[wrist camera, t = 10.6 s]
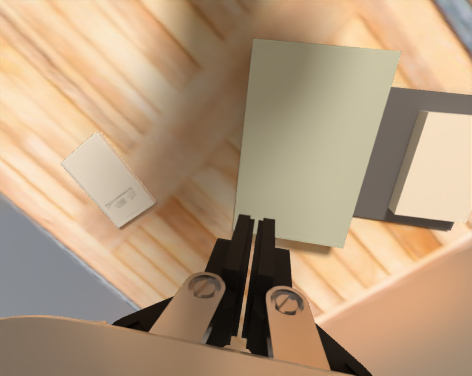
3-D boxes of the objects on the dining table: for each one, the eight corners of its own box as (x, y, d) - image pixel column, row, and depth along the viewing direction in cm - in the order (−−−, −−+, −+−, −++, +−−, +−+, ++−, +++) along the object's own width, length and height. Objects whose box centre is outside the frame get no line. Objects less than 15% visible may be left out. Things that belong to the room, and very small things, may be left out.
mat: (381, 86, 29) (383, 86, 29) (508, 99, 28) (511, 99, 28) (345, 213, 35) (346, 214, 35) (448, 228, 34) (450, 230, 34)
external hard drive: (102, 130, 37) (158, 200, 39) (67, 161, 39) (122, 224, 42) (95, 132, 35) (154, 204, 38) (58, 164, 38) (116, 229, 41)
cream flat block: (512, 119, 27) (497, 117, 28) (428, 112, 27) (419, 110, 29) (465, 223, 31) (455, 215, 33) (394, 214, 32) (388, 207, 34)
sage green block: (256, 44, 30) (253, 38, 26) (385, 55, 28) (401, 51, 25) (236, 216, 38) (232, 230, 34) (336, 232, 36) (342, 248, 33)
